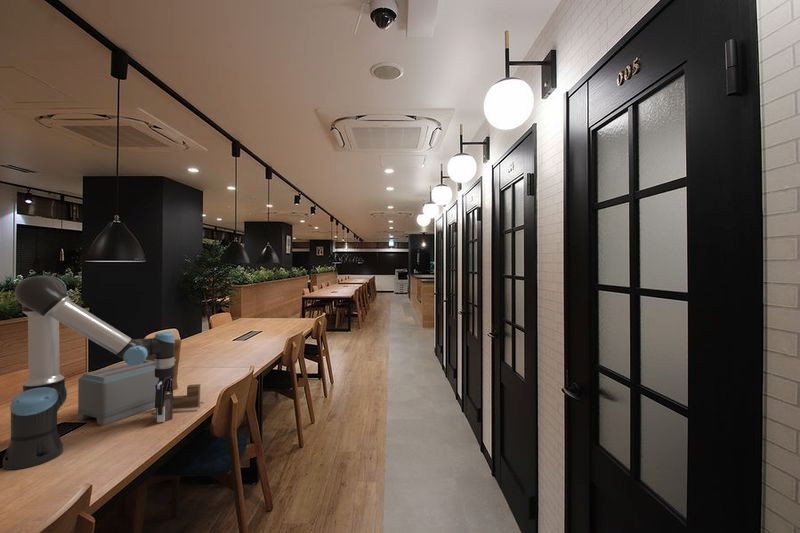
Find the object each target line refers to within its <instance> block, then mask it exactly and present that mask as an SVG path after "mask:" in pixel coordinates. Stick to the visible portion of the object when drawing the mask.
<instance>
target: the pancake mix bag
mask: <svg viewBox="0 0 800 533" xmlns="http://www.w3.org/2000/svg"><path fill="white" fill-rule="evenodd" d="M181 347H182V340H181V339H178V338H177V339H175V356H174V359H176V361H174V367H175V369H174V375H172V376H173V391H175V390H177V389H179V385H178V374H179V365H180V364H179V363H180V356H181ZM145 360H150V361H155V355H149V356H147V357H146V359H145Z"/></svg>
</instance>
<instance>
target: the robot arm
mask: <svg viewBox="0 0 800 533" xmlns="http://www.w3.org/2000/svg"><path fill="white" fill-rule="evenodd" d="M14 296H15V299H16V300H17V302H18V303H19V304H21V306H22V307H21V310H22V311H21V313H23V314H25V315H26V316H27V329H28V330H27V336H28V338H27V344H28V345H27V348H28V351H27V352H28V353H27V355H28V362H27V363H28V378H27V380H25V381H24V382H23V383H22V391H21V392H20V393H17V394H16V395H15V396H13V397H12V399H11V404H10V406H9V410H10V443H9V444H8V447H7V449H6V451H5V454H4V457H3V459H2V467H3V469H6V470H18V469H19V470H20V469H25V468H30V467H31V468H32V467H35V466H38V465H41V464H44V463H47V462H49V461H51V460H54V459H55V458H57V457H59V456H60V455H62V454H63V452H64V443H63V441H62V439H61V437H60V435H59V433H58V412H59V410H60V409H61V407H62V406H63V405H64V404H65V402H66V400H67V398H68V390H67V386H66V380H65V378H66V377H65V376H64V375H62V374H61V373H60V372H61V371H60V324H61V323H62V324H63V325H64V326H66V327H68V328H69V329H71V330H73V331H75V332H77V333H78V334H80V335H82V336H84V337H85V338H87V339H89V340H90V341H92V342H93V343H95V344H97V345H98V346H101V347H102V348H104V349H106V350H108V351H109V352H111V353H113V354H114V355H116V356H117V357H120V358H121V359H123V361H124V363H125V364H129V365H133V366H134V365H139V364H141V363H142V362H144V361H145V359H146V357H147V356H149V355H155V363H154V367H155V377H156V378H159V381H158V385H155V389H156V393H155V407H154V408H153V409H156V408H157V419H156V423H165V422H166V421H165V406H164V400H165V393H166V391H169V392H171V393H172V399H173V398H174V397H173V396H174V390H173V376H172V375H174V369H175V367H174V361H176V359H174V356H175V340H176V339H175V333H174V332H173V331H161V332H157V333H155V334H154V337H151V338H150V337H149V338H137V339H132V338H131V337H130V336H128V335H126V334H124V333H123V332H121V331H120V330H119V329H117V328H115V327H114V326H112V325H111V324H109V323H107V322H106V321H104V320H102V319H101V318H99V317H97V316H96V315H95V314H93V313H91V312H89V311H88V310H86V309H84V308H83V307H81V306H80V305H78V304H76V303H75V302H74V301H71V300H70V296H69V295H68V294H67V286H66V284H65V283H64V281H63V280H62V279H60V278H58V277H56V276H52V275H45V274H43V275H36V276H30V277H26V278H25V279H23V280H21V281H20V282H19V283H18V284H17V285H16V287H15V289H14ZM164 421H165V422H164Z"/></svg>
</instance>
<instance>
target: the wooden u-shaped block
mask: <svg viewBox="0 0 800 533" xmlns="http://www.w3.org/2000/svg"><path fill="white" fill-rule="evenodd" d="M173 397H174V398H173V399H172V407H173V414H177V413H178V414H180V413H190V412H191V413H192V412H198V411H199V410H200V408H201V407H202V406H203V405H204V401H201V384H200V383H199V384H198V383H197V384H196V383H195V384H189V385H187V387H186V395H185V394H183V395H173ZM152 415H153V416H156V409H155V410H153V412H151V416H152Z"/></svg>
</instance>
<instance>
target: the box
mask: <svg viewBox="0 0 800 533" xmlns="http://www.w3.org/2000/svg"><path fill="white" fill-rule="evenodd" d="M164 406H165V421H164V422H163V423H165V422H168V421H170V420H173V416H174V413H173V407H172V393H171V392H169V391H166V393H165V400H164ZM155 410H156V415H155V420H157V408H155Z"/></svg>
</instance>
